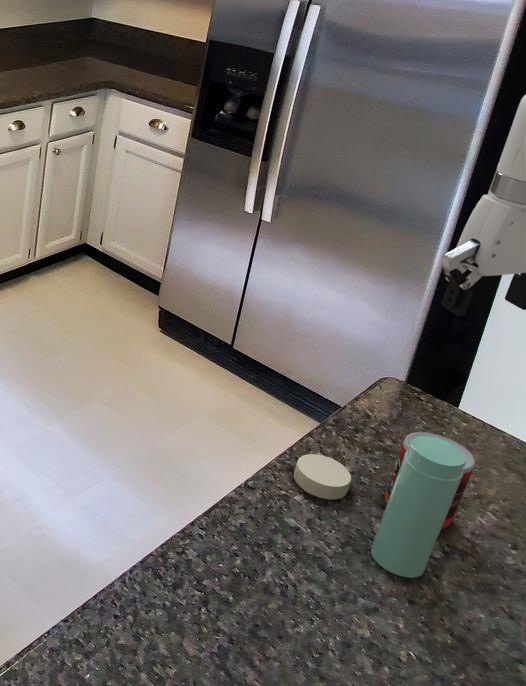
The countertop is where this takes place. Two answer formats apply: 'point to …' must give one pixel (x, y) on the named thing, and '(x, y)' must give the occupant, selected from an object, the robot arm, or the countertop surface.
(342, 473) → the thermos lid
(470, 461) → the canned food
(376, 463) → the countertop surface
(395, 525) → the thermos
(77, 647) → the countertop surface
